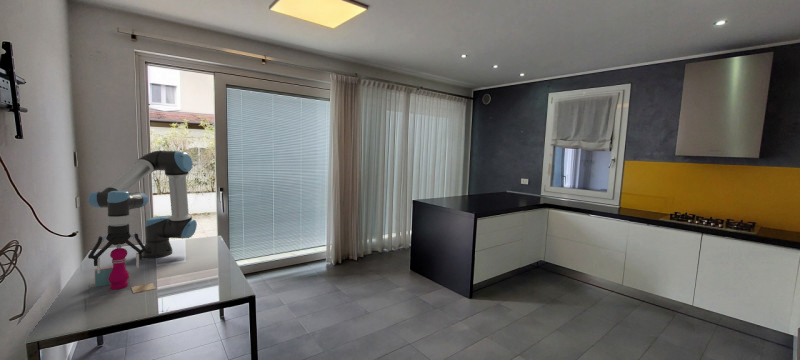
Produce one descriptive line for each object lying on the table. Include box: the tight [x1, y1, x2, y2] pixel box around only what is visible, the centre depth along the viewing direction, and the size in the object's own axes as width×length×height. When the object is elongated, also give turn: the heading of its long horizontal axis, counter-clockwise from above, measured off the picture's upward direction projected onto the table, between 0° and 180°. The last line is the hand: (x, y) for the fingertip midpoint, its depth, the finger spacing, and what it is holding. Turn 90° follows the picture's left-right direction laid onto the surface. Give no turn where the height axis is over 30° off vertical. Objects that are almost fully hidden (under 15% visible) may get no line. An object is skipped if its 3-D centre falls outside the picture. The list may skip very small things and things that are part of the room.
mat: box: [88, 279, 132, 298], centre depth 149 cm, size 14×17×1 cm
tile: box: [94, 265, 113, 287], centre depth 151 cm, size 8×2×8 cm, turn 135°
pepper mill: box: [109, 244, 130, 290], centre depth 149 cm, size 7×7×20 cm
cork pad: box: [131, 282, 156, 294], centre depth 149 cm, size 8×8×1 cm
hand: (118, 269), depth 149 cm, fingers open, 13 cm apart
